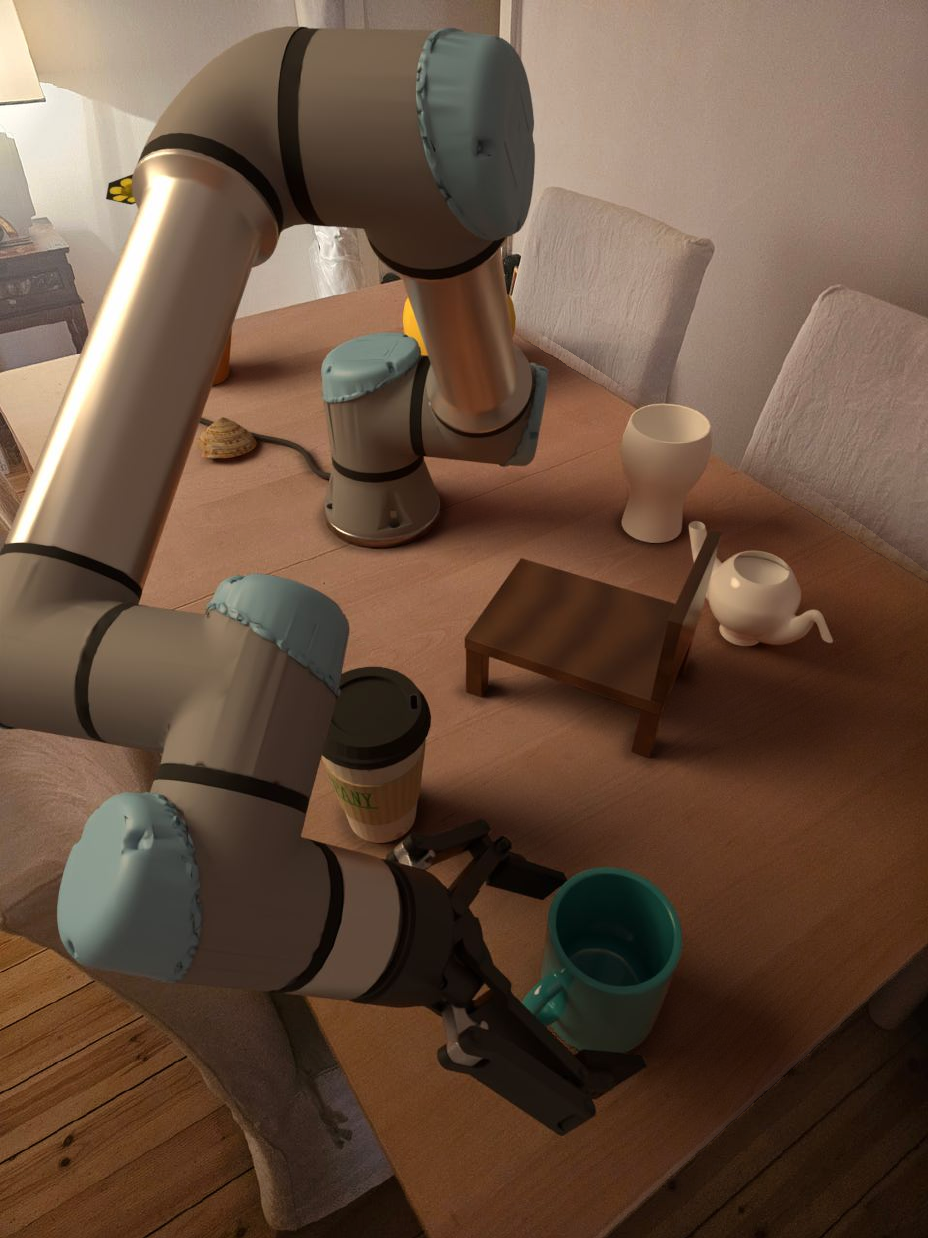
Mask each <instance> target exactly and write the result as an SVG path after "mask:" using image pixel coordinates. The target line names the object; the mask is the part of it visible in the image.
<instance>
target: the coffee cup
mask: <svg viewBox="0 0 928 1238" xmlns="http://www.w3.org/2000/svg"><path fill="white" fill-rule="evenodd" d="M339 688H340V690H341V694H340V697H339V698H338V699H337V701H336V705H335V709H334V712H333V716H332V720H331V723H330V727H329V731H328V734H327V738H326V742H325V745H324V749H323V753H322V757H321V760H322V762H323V765H324V768H325V769H326V772H327V775H328V778H329V780H330V783H331V785H332V787H333V790H334V792H335V796H336V797H337V801H338V803H339V806H340V807H341V809H342V810H343V812H344V813H345V815H346V818H347V821H348V823H349V826H350V828H351V829H352V831H353V832H354V833H355V835H356V836H358V838H360V839H361V840H364V841H367V842H369V843H374V844H384V843H390V842H393V841H396V840H398V839H400V838H401V837H403V836H404V835H406V834H407V833H408V832H409V830H410V829H412V827H413V825H414V823H415V820H416V817H417V808H418V807H417V806H418V801H419V797H420V794H421V785H422V780H423V779H422V778H423V770H424V761H425V753H426V752H425V751H426V743H427V741H426V740H427V737H428V735H429V731H430V729H431V726H432V714H431V709H430V705H429V703H428V700H427V698H426V697H425V695H424V694H423V692H422V691H421V690H420V689H419V687H417V685H416V684H415V683H414V682H413V680H412V679H410V677H409V676H406V675H405V674H403V673H401V672H400V671H398V670H395V669H391V668H389V667H382V666H363V667H362V666H361V667H357V668H353V669H350V670H347V671H344V672H342V675H341V680H340V685H339Z"/></svg>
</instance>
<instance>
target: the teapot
mask: <svg viewBox="0 0 928 1238" xmlns="http://www.w3.org/2000/svg"><path fill="white" fill-rule="evenodd" d="M688 534H689V540H690V548H691V555H692V560H693V563H694V562H695V560H696V558H697V556H698V553H699V551H700V549H701V547H702V545H703V542H704V540H705V538H706V536H707V534H708V532H707V528H706V525H705V524H704V523H703V522H701V521H699V520H693V521H691V522H689V524H688ZM705 600H707V601H708V604H709V608H710V611H711V613H712V615H713V617H714V618H715V619H716V620H717V622H718V623H719V626H718V627H719V633H720V635H721V636H722V637H723V638H724V640H726V641H727V642H729V643H731V644H733V645H737V646H741V647H752V646H755V645H757V644H759V643H761V644H764V645H770V646H782V645H787V644H791V643H793V642H796V641H798V640H801V639H802V638H804V637H805V636H806V635H807V634H808V633H809V632H810V631H811V629H812V627H813V625H814V624H816V625H817V627H818V630H819V634H820V637H821V640H822V641H824V642H826V643H829V644H832V643H833V642H834V639H833V637H832V635H831V632H830V631H829V627H828V625H827V622H826V620H825V618H824V615H823V613H822V612H821V611H820V610H817V609H809V610H806V611H805V612H803V613H801V614H799V615H797V614H796V613H797V612H798V609H799V607H800V604H801V600H802V589H801V586H800V584H799V582H798V579H797V577H796V574H795V573H794V571H793V569H792V568H791V566H790V565H789V564H788V563H787V562H786V561H785V560H783V558H781V557H780V556H778V555H775V554H773V553H770V552H767V551H761V550H744V551H741V552H738V553H735V554H733V555H732V556H730V557H729V558H727V559H725V561H723V562H722V561H721V560H720V558H718V556H717V555H716V559H715V563H714V567H713V570H712V574H711V578H710V582H709V586H708V590H707V594H706V597H705Z"/></svg>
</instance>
